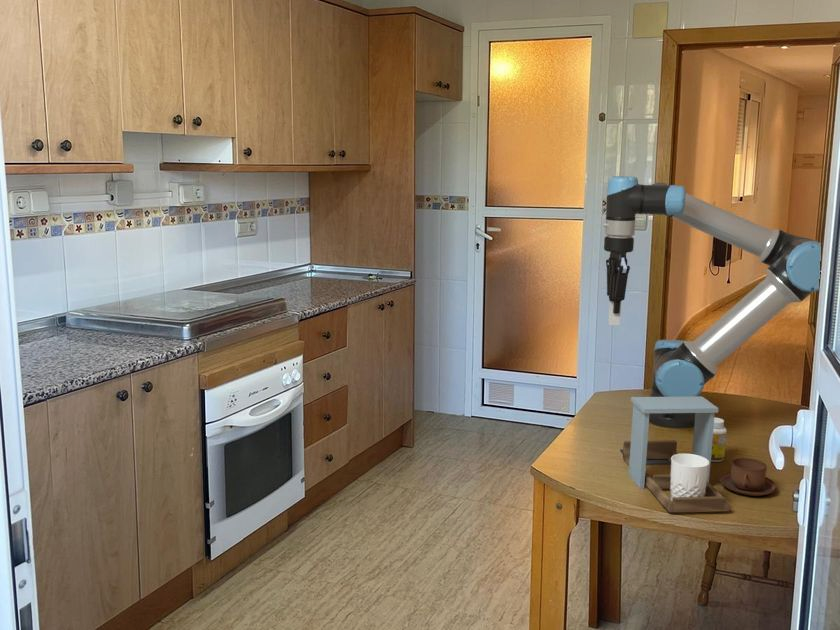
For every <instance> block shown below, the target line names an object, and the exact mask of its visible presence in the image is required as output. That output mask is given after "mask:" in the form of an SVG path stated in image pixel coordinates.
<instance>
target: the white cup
mask: <svg viewBox="0 0 840 630" xmlns="http://www.w3.org/2000/svg"><path fill="white" fill-rule="evenodd" d="M670 461H671V465H670V475H671V485H670V487H671V488H670V500H671V501H672V498H673V497H705V495H706V492H705V491H706V484H707V478H708V470H709V461H708V460H707V459H706V458H704V457H702V456H698V455H694V454H692V453H678V454H676V455H673V456H672V457H671V459H670Z"/></svg>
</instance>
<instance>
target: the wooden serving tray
mask: <svg viewBox="0 0 840 630" xmlns="http://www.w3.org/2000/svg"><path fill="white" fill-rule="evenodd" d="M630 446H631V440H624V441H623V445H622V449H623V453H622V458H623V460H624V461H625V462H626V463H627V465H629V461H630ZM677 447H678V441H676V440H673V439H672V440H648V442H647V455H646V459H669V460H671V457H672V456H673V455H676V454H679V453H678V452H677ZM644 485H645V486H646V487H647V488H648V489H649V490H650V492H651V493H652V494H653V495H654V496H655V498H656V499H657V500H658V501H659V502H660V504H661V505H662V506H663V507H664V508H665V509H666V511H668V513H690V512H691V513H693V512H695V513H697V512H730V501H728V500H727V499H726V497H724V496H723V495H722V494H721V493H720V492H719V491H718V490H716V488H715V487H713V485H712V484H711V483H710V482H709V483H708V482H707V484H706V491H705V494H707V495H708V496H704V497H673V498H672V501H671V498H670V497H669V496H668V495H667V494H666V493H665V492H664V491H663V489H671V487H670V485H671V474H653V475H652V477H651V476H650V475H649V473H648V472H647V471H646V470H645V483H644Z"/></svg>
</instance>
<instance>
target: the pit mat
mask: <svg viewBox="0 0 840 630" xmlns="http://www.w3.org/2000/svg"><path fill="white" fill-rule="evenodd" d="M619 451H620V452H621V453H622V454H623V448H622V449H621V448H620V449H619ZM659 465H660V466H662V465H663V466H664V465H665V466H667V465H668V466H669V465H670V466H671V459H646V466H659Z"/></svg>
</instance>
